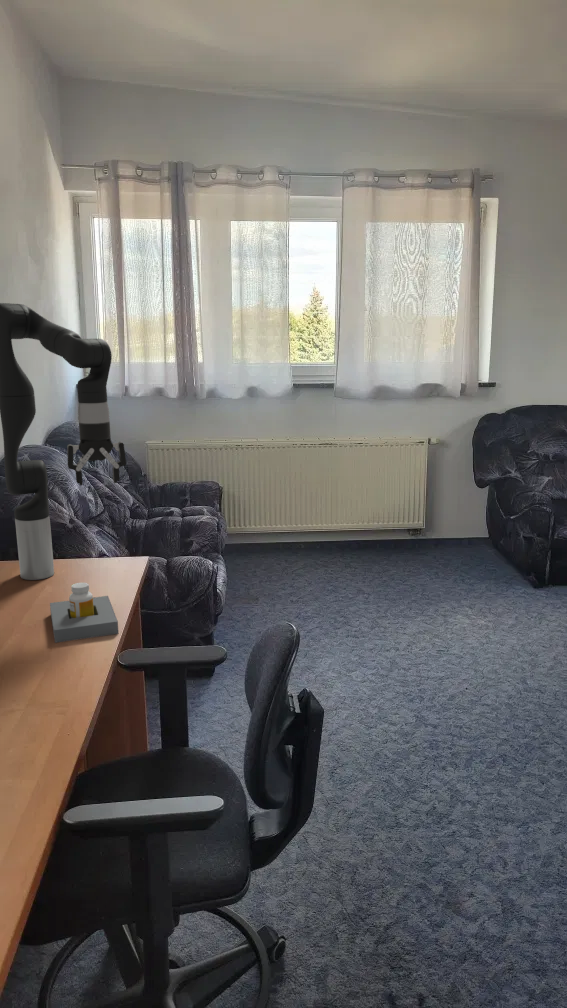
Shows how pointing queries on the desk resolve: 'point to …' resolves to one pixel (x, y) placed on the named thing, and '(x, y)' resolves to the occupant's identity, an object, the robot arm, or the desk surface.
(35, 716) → the desk surface
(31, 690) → the desk surface
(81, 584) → the supplement bottle
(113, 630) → the socket holder
